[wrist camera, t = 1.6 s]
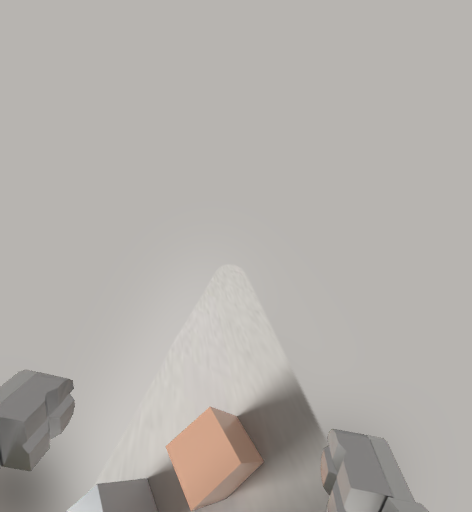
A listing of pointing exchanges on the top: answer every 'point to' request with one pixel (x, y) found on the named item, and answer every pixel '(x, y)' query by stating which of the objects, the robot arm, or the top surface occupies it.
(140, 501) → the light gray boxy block
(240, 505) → the top surface
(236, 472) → the tan block
